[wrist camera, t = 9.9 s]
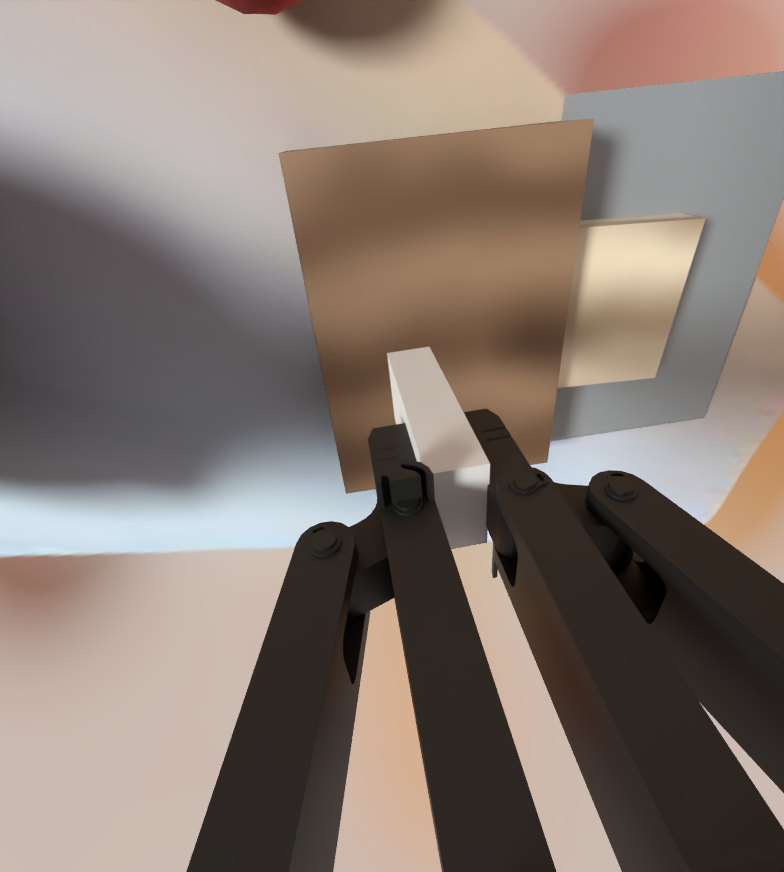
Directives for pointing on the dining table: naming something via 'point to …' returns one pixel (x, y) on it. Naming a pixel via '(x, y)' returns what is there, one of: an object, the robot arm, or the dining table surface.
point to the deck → (441, 271)
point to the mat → (692, 195)
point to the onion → (260, 5)
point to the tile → (625, 295)
